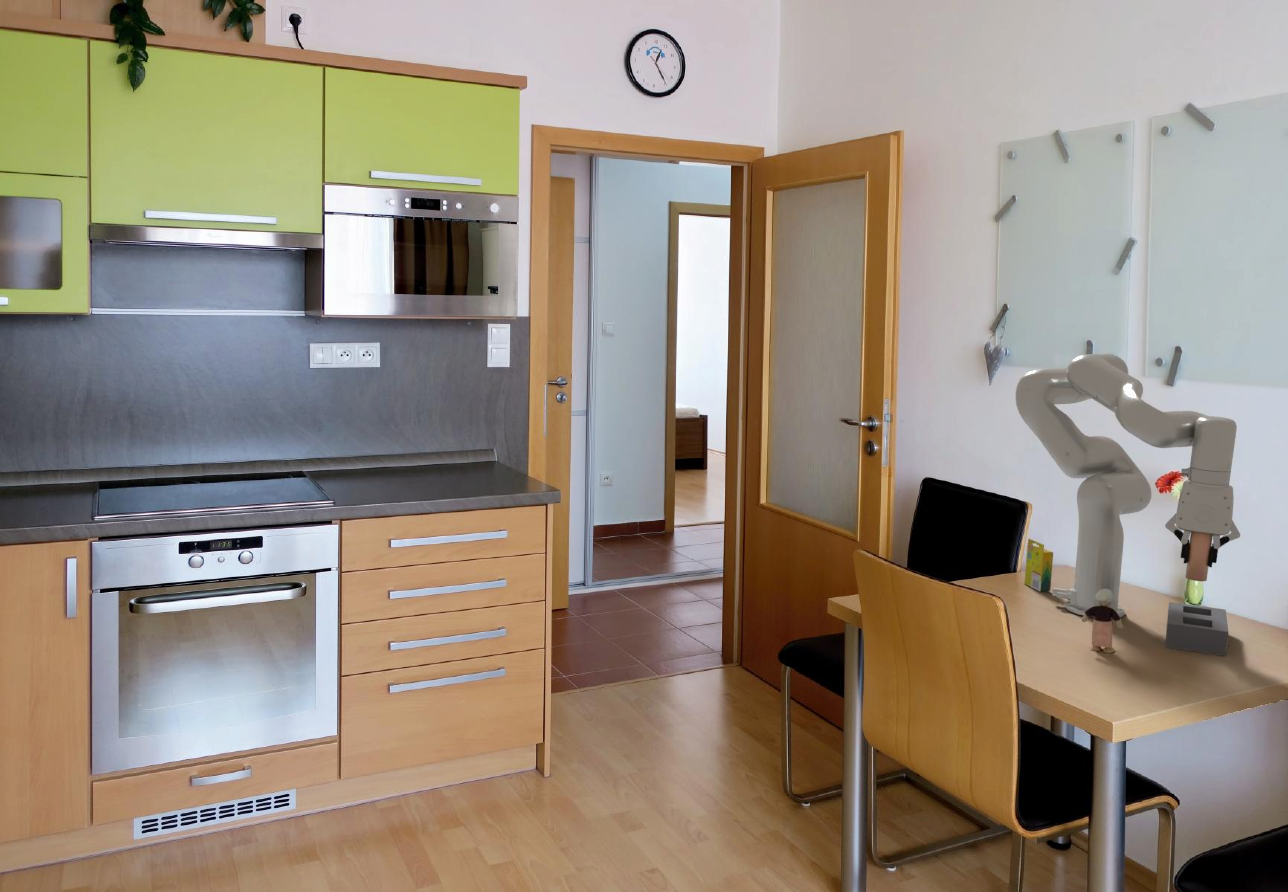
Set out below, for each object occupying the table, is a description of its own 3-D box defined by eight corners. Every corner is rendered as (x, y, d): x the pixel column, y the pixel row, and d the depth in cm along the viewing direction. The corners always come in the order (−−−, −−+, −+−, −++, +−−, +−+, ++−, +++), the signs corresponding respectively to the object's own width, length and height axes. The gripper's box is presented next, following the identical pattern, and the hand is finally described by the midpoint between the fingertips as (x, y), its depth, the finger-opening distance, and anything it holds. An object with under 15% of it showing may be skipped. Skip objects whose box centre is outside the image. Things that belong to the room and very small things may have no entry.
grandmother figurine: (1119, 649, 222) (1124, 588, 220) (1120, 654, 218) (1126, 593, 216) (1078, 644, 224) (1083, 584, 222) (1079, 649, 220) (1084, 589, 219)
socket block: (1165, 646, 224) (1167, 623, 223) (1166, 623, 240) (1169, 601, 239) (1225, 656, 219) (1228, 632, 218) (1223, 631, 235) (1225, 609, 234)
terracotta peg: (1184, 579, 225) (1191, 527, 223) (1185, 574, 229) (1192, 523, 227) (1206, 582, 223) (1213, 530, 221) (1207, 577, 227) (1213, 526, 225)
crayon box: (1050, 591, 263) (1054, 544, 262) (1039, 592, 263) (1043, 545, 261) (1034, 583, 270) (1038, 537, 269) (1023, 583, 270) (1027, 538, 268)
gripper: (1162, 474, 223) (1152, 561, 226) (1255, 485, 215) (1243, 575, 218) (1165, 469, 230) (1155, 553, 233) (1255, 479, 222) (1243, 566, 225)
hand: (1197, 563), depth 225 cm, fingers closed on terracotta peg, 4 cm apart
